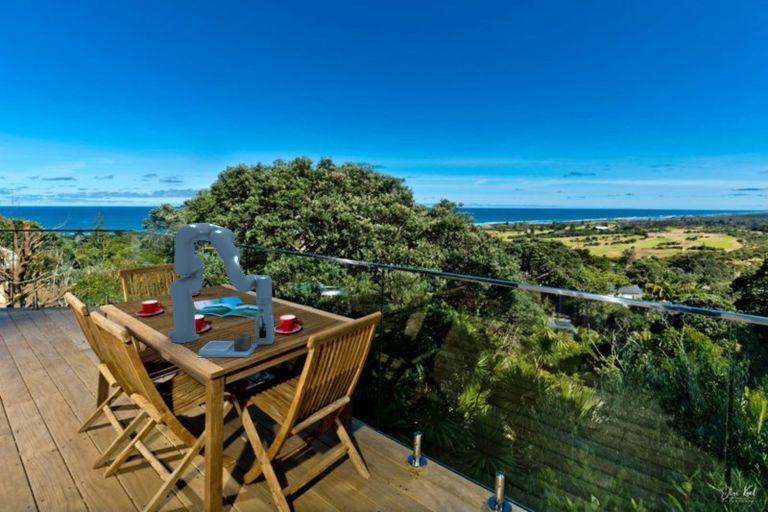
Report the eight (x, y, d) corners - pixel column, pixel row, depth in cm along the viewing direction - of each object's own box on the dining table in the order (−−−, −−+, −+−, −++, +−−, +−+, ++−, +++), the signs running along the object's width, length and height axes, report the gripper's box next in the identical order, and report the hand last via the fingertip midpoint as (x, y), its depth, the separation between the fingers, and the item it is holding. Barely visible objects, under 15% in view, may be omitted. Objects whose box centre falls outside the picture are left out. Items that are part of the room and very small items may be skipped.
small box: (274, 340, 197) (274, 315, 195) (272, 344, 190) (271, 318, 189) (258, 340, 196) (257, 315, 194) (255, 344, 190) (254, 319, 188)
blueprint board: (198, 357, 173) (198, 350, 172) (211, 346, 187) (211, 340, 186) (247, 357, 173) (247, 351, 173) (257, 346, 187) (257, 340, 187)
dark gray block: (234, 351, 177) (233, 338, 176) (238, 346, 183) (238, 334, 182) (247, 351, 177) (246, 338, 176) (251, 346, 183) (251, 334, 182)
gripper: (266, 305, 182) (267, 341, 184) (276, 296, 199) (276, 329, 201) (250, 304, 182) (251, 341, 184) (261, 296, 199) (262, 329, 201)
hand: (264, 335), depth 193 cm, fingers closed on small box, 6 cm apart
